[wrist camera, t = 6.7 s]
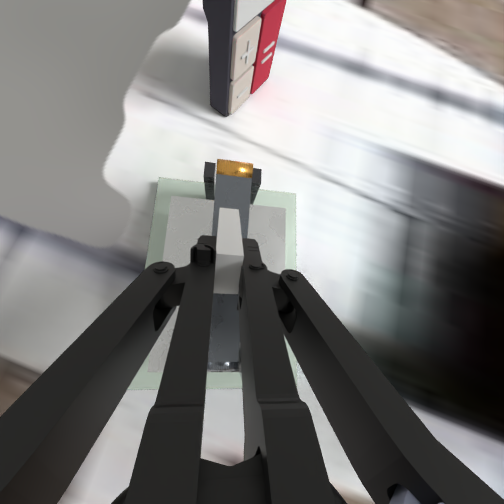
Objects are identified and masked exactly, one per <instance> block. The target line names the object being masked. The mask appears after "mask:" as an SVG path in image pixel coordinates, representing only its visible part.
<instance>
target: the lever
mask: <svg viewBox="0 0 504 504" xmlns="http://www.w3.org/2000/svg"><path fill="white" fill-rule="evenodd" d="M252 174H253V163H245V162H238V161H230V160H223V159H217V172H216V185H215V198H214V211H213V224H212V236H217V232H218V221H219V209H220V208H229V209H239V216H240V225H241V234H242V238H247V237H248V224H249V210H250V197H251V183H252ZM238 298H239V291H238V294H220V293H213V305H212V317H211V330H210V343H209V355H208V368H207V371H238V359H239V345H240V329H239V310H237V304H238Z"/></svg>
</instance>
